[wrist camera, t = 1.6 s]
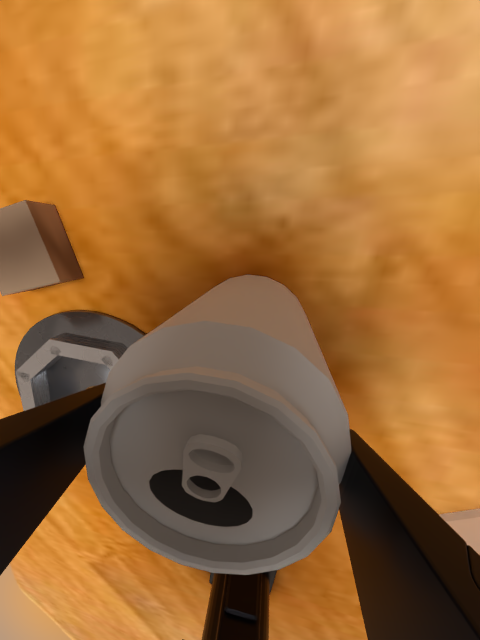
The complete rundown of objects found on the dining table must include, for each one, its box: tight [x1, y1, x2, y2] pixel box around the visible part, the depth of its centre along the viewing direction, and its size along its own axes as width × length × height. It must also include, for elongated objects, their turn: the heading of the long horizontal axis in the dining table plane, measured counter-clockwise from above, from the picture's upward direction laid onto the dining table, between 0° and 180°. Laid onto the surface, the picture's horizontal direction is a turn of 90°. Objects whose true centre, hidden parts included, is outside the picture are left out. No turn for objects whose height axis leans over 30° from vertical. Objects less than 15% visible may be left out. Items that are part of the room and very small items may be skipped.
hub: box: [15, 310, 146, 465], centre depth 20 cm, size 16×16×2 cm
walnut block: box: [0, 200, 84, 296], centre depth 16 cm, size 5×5×2 cm
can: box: [83, 275, 352, 575], centre depth 11 cm, size 8×8×12 cm
